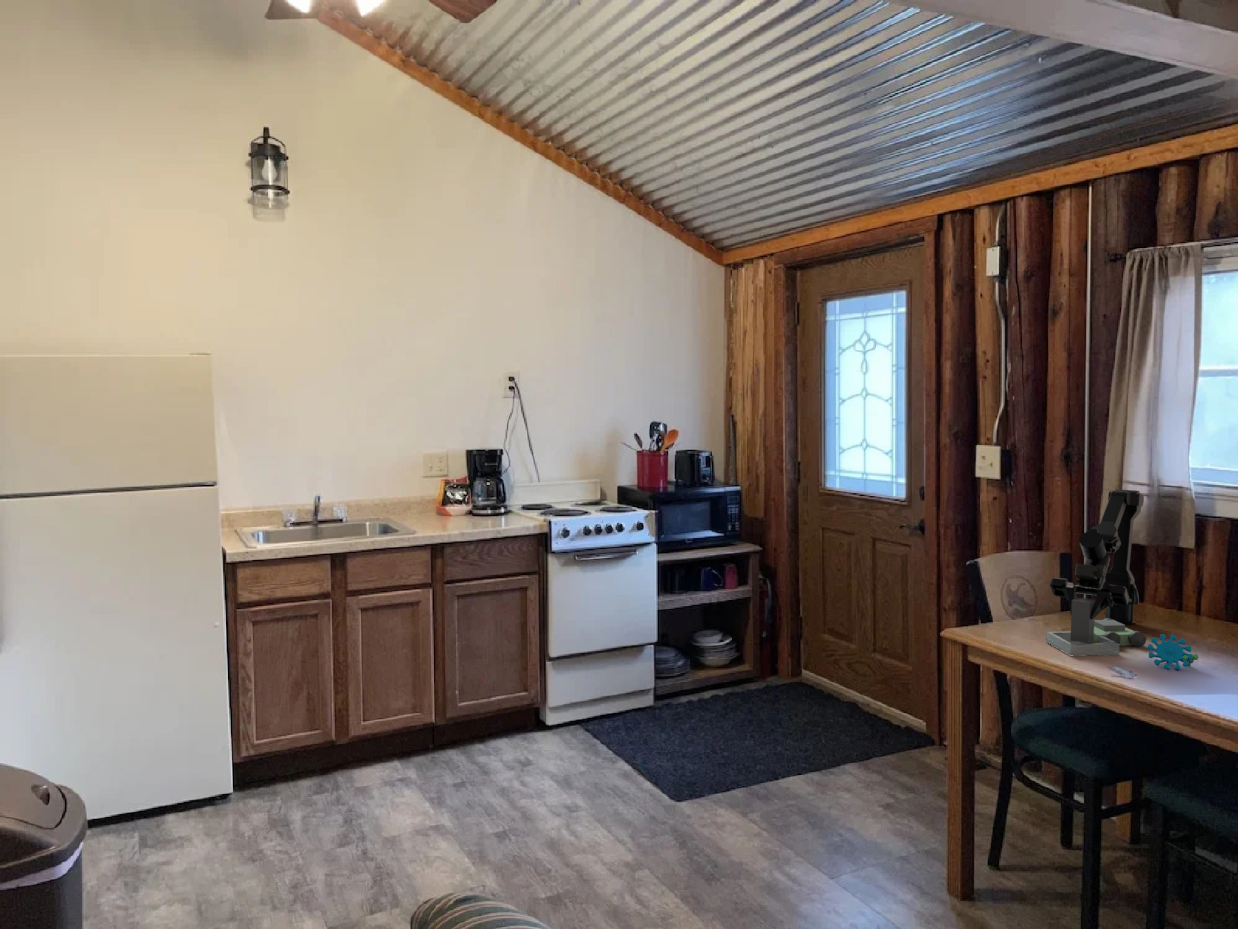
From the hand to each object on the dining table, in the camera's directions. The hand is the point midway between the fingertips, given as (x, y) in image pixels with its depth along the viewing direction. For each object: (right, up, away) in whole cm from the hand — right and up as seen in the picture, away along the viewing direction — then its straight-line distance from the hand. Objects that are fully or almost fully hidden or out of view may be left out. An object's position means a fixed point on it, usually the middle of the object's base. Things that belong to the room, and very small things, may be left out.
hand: (1081, 617), depth 251 cm
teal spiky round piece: (+16, -10, -15) cm, 24 cm away
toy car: (+12, -8, +11) cm, 18 cm away
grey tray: (+1, -9, +2) cm, 9 cm away
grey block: (+1, -6, +2) cm, 7 cm away
